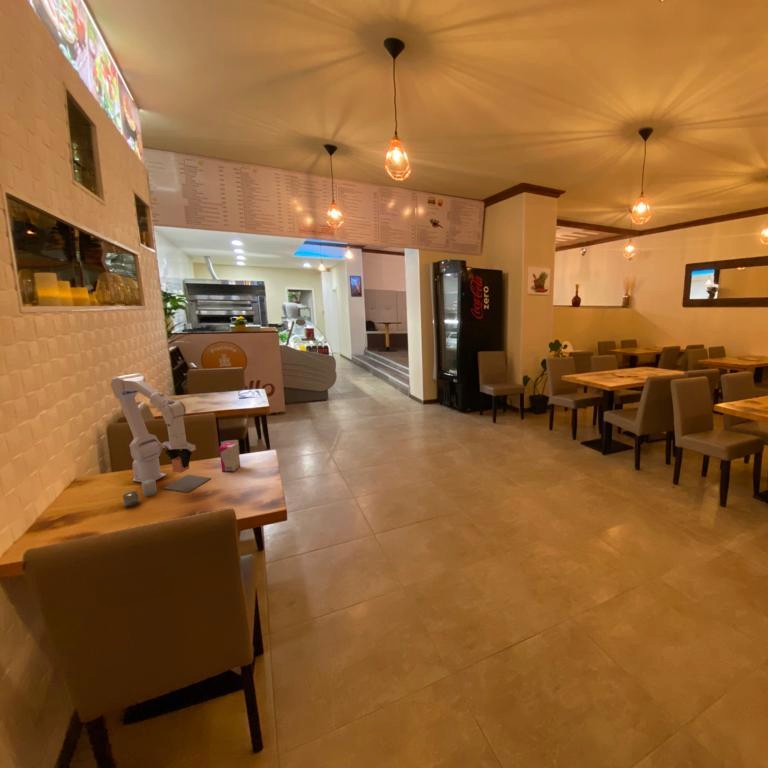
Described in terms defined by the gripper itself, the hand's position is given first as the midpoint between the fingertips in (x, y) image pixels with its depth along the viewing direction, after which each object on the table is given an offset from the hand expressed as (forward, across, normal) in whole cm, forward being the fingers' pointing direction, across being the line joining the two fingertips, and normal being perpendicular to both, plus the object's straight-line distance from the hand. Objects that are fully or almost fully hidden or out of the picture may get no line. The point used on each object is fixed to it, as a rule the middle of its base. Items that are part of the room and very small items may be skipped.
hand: (181, 466), depth 143 cm
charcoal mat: (+8, 0, +2) cm, 9 cm away
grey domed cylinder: (+8, -8, -8) cm, 14 cm away
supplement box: (+9, +8, +18) cm, 21 cm away
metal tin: (+8, -7, -16) cm, 20 cm away
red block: (+2, 0, 0) cm, 2 cm away
